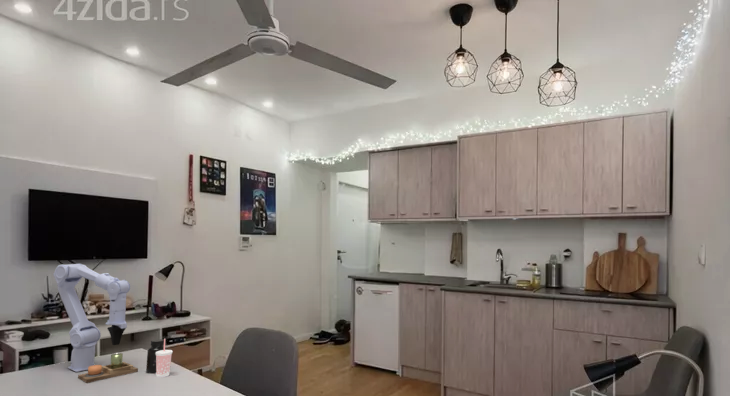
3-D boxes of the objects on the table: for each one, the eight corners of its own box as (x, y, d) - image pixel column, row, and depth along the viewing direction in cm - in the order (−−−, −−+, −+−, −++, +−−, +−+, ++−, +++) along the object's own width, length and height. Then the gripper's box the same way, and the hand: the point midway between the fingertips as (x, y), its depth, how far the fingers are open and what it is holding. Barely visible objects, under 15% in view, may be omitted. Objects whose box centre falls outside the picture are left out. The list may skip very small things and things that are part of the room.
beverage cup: (160, 372, 169) (162, 336, 170) (174, 373, 168) (176, 337, 169) (150, 377, 163) (152, 340, 164) (165, 378, 162) (167, 340, 163)
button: (85, 373, 162) (86, 366, 162) (98, 370, 165) (99, 364, 165) (90, 375, 159) (90, 368, 159) (103, 372, 162) (103, 366, 163)
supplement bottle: (157, 374, 167) (159, 342, 168) (142, 372, 168) (143, 341, 170) (168, 368, 174) (170, 338, 175) (153, 367, 175) (155, 338, 176)
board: (77, 378, 161) (78, 370, 162) (127, 367, 175) (128, 360, 176) (86, 383, 156) (87, 375, 156) (137, 371, 170) (138, 364, 170)
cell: (108, 370, 168) (109, 353, 168) (119, 367, 171) (120, 350, 171) (112, 372, 165) (113, 354, 166) (123, 369, 168) (124, 352, 169)
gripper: (100, 310, 175) (98, 343, 173) (114, 313, 166) (112, 349, 164) (118, 307, 180) (116, 340, 179) (133, 311, 171) (131, 345, 170)
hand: (115, 344), depth 172 cm, fingers closed
